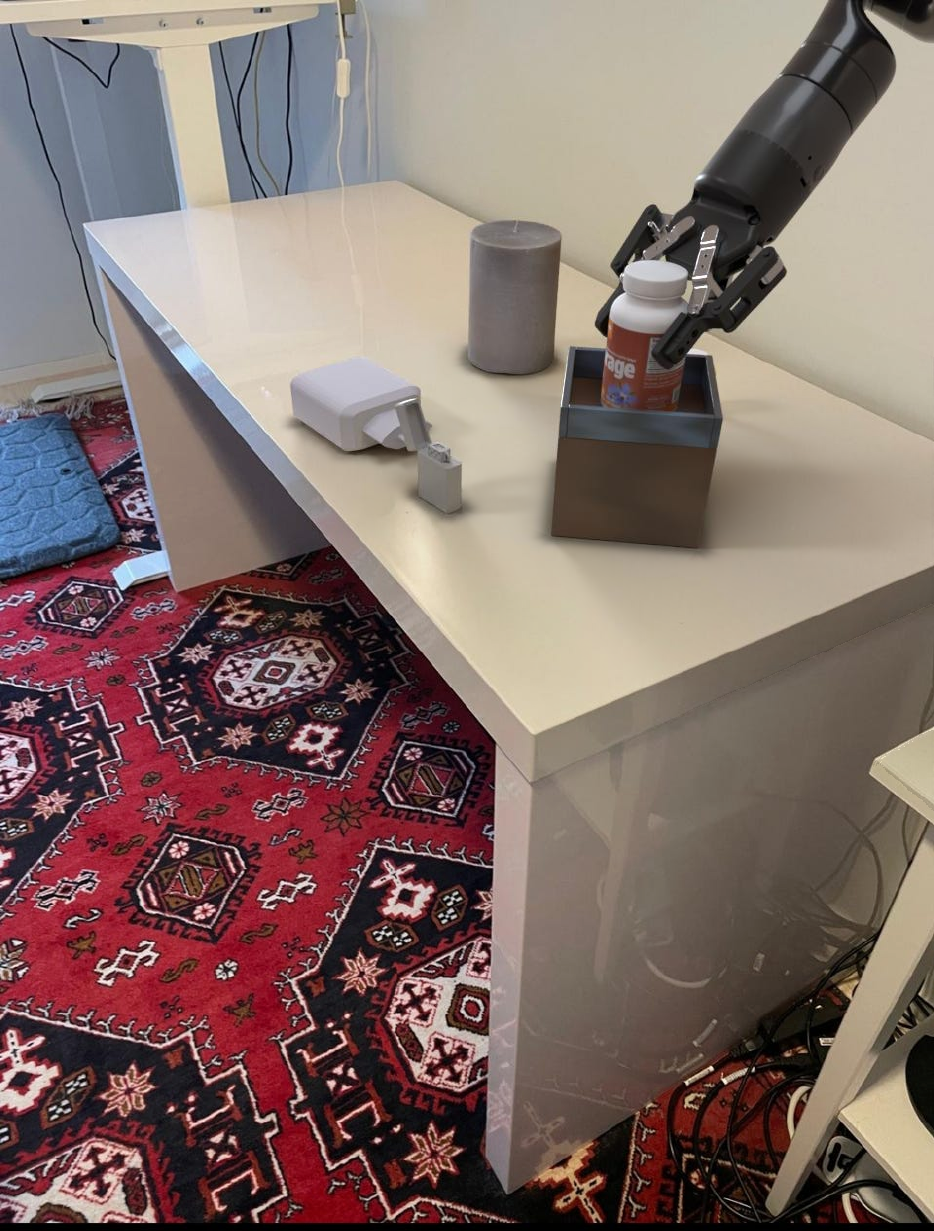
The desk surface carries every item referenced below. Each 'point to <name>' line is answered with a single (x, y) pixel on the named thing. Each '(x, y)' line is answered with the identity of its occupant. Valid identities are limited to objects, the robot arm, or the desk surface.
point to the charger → (353, 403)
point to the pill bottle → (643, 338)
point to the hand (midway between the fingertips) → (630, 346)
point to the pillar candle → (513, 296)
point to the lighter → (431, 460)
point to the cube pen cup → (634, 458)
